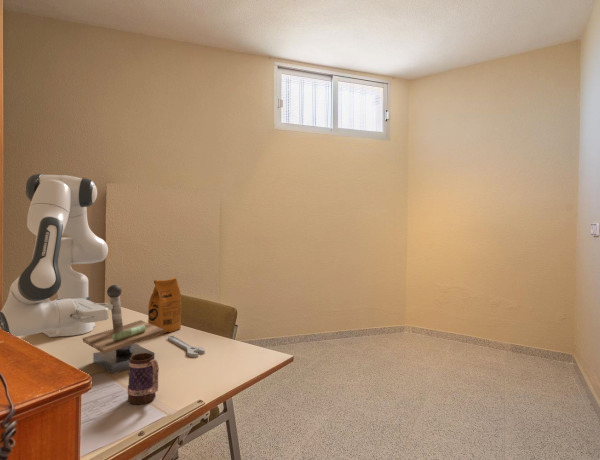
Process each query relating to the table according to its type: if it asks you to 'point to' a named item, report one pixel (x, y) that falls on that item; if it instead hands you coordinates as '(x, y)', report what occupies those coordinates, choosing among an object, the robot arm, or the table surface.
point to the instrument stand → (118, 358)
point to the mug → (142, 378)
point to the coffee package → (165, 305)
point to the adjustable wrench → (187, 347)
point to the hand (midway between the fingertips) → (110, 305)
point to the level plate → (111, 345)
